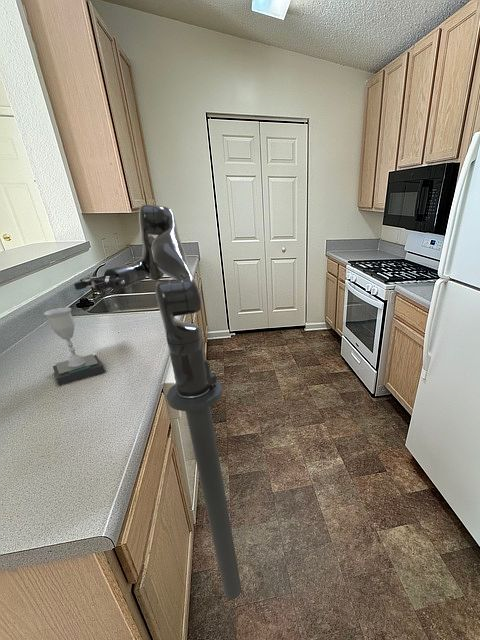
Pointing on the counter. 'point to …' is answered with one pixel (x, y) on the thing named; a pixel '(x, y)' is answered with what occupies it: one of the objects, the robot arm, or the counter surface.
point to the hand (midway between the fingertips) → (85, 287)
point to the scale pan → (64, 367)
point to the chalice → (64, 331)
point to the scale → (79, 373)
